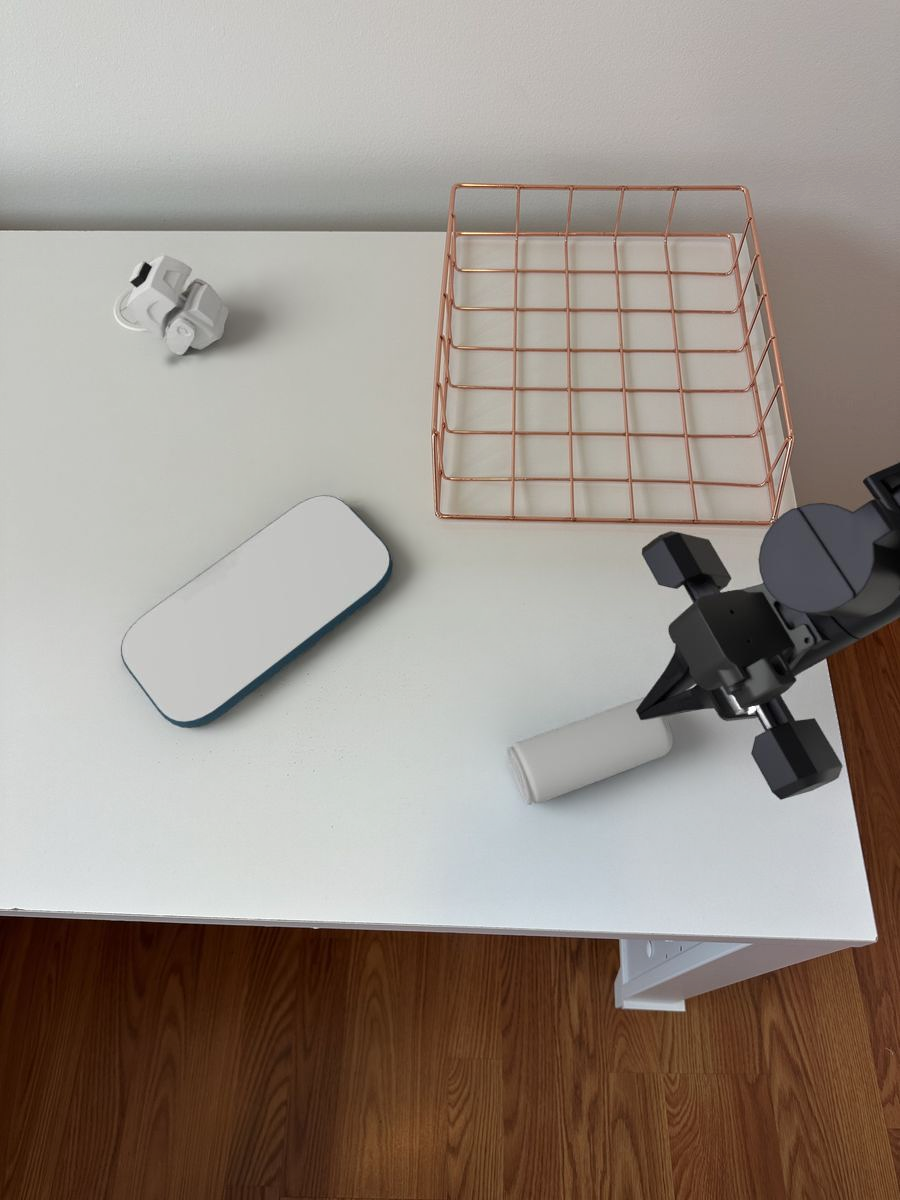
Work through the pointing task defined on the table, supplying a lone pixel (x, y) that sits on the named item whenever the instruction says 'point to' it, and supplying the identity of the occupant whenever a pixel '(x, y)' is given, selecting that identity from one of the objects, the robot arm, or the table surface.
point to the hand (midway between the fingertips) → (640, 715)
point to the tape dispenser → (176, 305)
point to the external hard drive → (255, 610)
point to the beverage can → (587, 751)
